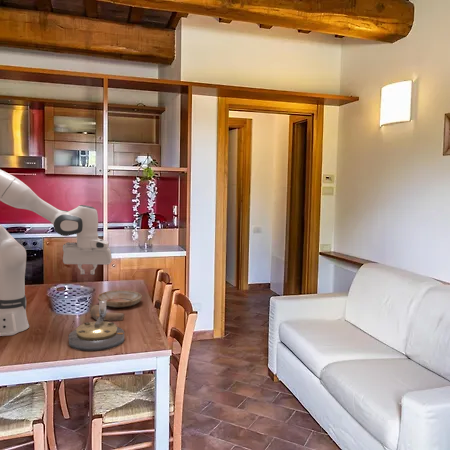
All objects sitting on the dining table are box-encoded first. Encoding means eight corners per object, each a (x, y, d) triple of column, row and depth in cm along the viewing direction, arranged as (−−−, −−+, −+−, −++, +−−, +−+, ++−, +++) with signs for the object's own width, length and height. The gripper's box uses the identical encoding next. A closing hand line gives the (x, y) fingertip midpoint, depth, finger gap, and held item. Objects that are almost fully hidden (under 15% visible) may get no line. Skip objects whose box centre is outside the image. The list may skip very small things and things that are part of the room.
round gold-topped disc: (113, 340, 172) (113, 316, 171) (72, 340, 170) (71, 316, 169) (121, 321, 195) (121, 300, 194) (85, 322, 193) (85, 300, 192)
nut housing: (71, 354, 165) (71, 346, 164) (66, 335, 185) (66, 328, 184) (129, 346, 174) (129, 338, 174) (118, 329, 194) (118, 322, 194)
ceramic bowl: (97, 312, 218) (97, 302, 218) (97, 299, 241) (97, 290, 240) (144, 309, 225) (144, 300, 224) (139, 297, 247) (140, 289, 247)
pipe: (124, 312, 204) (125, 302, 214) (87, 312, 201) (90, 303, 211) (124, 324, 206) (125, 314, 215) (87, 325, 203) (90, 315, 212)
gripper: (60, 243, 184) (60, 275, 185) (110, 244, 186) (109, 276, 187) (64, 241, 190) (64, 272, 191) (112, 242, 192) (112, 272, 193)
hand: (87, 274), depth 189 cm, fingers open, 3 cm apart
